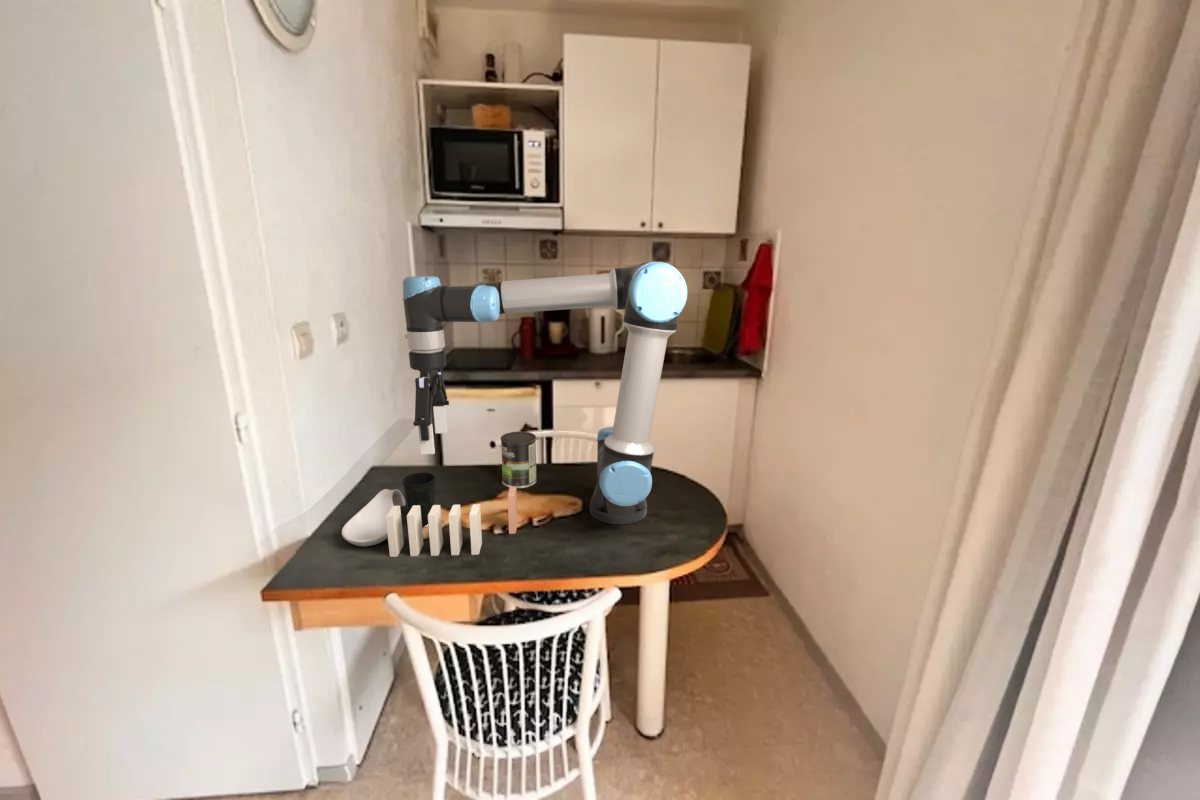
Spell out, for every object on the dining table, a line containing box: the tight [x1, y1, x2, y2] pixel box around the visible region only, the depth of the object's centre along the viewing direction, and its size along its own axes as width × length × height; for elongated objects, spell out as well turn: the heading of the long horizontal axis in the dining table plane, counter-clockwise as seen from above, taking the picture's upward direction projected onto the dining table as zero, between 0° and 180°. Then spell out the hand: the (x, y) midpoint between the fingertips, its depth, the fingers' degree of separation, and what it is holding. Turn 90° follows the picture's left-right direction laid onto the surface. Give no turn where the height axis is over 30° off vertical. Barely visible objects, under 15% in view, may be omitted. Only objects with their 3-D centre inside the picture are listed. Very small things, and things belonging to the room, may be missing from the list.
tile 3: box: [428, 504, 444, 557], centre depth 119 cm, size 2×5×10 cm, turn 4°
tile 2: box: [448, 504, 464, 556], centre depth 119 cm, size 2×5×10 cm, turn 4°
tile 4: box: [406, 505, 424, 557], centre depth 118 cm, size 2×5×10 cm, turn 4°
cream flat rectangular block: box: [386, 506, 405, 558], centre depth 118 cm, size 2×5×10 cm, turn 4°
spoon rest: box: [341, 488, 407, 547], centre depth 129 cm, size 24×12×7 cm, turn 2°
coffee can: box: [500, 431, 537, 489], centre depth 155 cm, size 10×10×14 cm
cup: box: [402, 471, 437, 529], centre depth 130 cm, size 8×8×12 cm
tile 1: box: [468, 503, 483, 556], centre depth 119 cm, size 2×5×10 cm, turn 4°
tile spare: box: [507, 487, 518, 535], centre depth 128 cm, size 2×5×10 cm, turn 4°
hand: (435, 442), depth 118 cm, fingers open, 13 cm apart
